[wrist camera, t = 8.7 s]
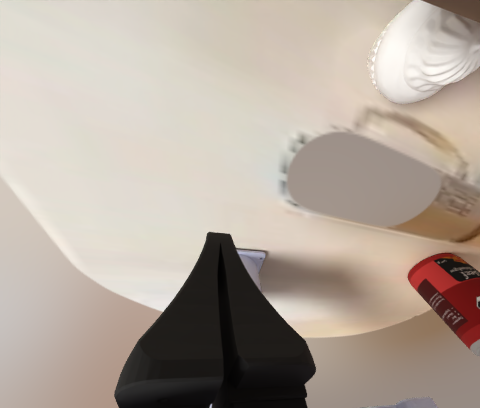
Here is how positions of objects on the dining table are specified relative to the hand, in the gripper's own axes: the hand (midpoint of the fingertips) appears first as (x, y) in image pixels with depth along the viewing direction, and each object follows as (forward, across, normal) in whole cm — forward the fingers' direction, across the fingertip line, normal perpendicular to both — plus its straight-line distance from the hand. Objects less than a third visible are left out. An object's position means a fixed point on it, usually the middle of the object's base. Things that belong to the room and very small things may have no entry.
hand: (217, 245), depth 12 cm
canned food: (+10, -37, +11) cm, 40 cm away
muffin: (+10, -12, -13) cm, 20 cm away
